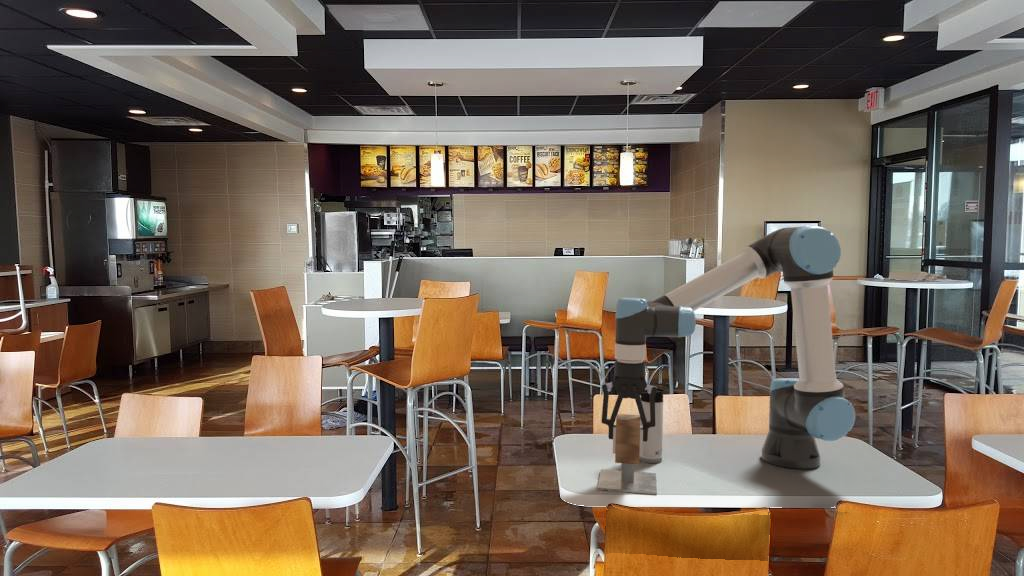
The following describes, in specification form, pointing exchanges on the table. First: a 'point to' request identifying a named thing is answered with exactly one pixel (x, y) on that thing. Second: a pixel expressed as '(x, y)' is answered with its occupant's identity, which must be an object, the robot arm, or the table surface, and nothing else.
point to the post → (627, 480)
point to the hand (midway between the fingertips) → (627, 452)
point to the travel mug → (653, 428)
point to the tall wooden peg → (627, 439)
